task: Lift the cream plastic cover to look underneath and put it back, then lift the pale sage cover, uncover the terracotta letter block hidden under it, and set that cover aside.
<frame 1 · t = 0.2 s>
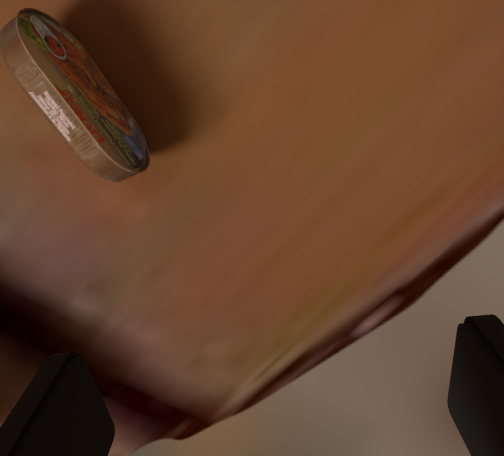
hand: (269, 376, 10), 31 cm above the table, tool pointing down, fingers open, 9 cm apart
tin: (101, 96, 37), on the table
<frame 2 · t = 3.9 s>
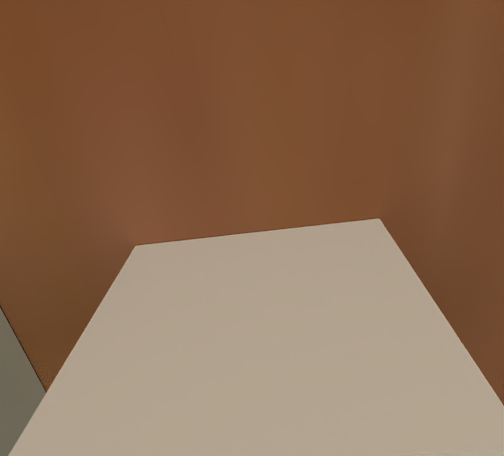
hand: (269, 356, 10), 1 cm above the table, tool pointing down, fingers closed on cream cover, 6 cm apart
cream cover: (268, 327, 11), on the table, touching gripper
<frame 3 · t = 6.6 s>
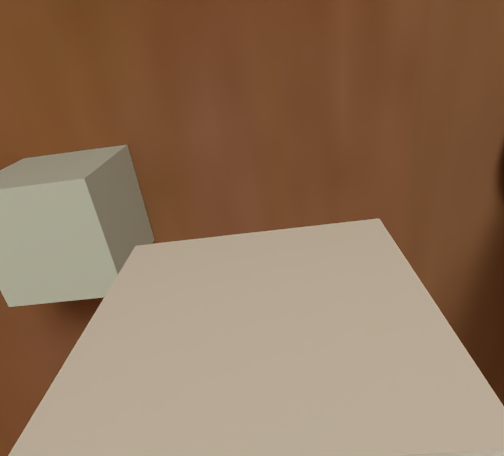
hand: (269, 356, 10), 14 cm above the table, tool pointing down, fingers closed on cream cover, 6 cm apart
cream cover: (268, 327, 11), point 13 cm above the table, touching gripper
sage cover: (92, 201, 24), on the table
when the fingers open (3 cm above the table, at t = 9.1 s): cream cover drops 1 cm, on the table.
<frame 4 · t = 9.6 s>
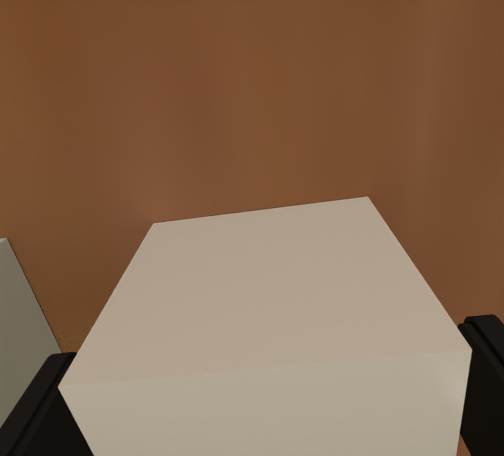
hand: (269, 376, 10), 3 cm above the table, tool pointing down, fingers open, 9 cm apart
cream cover: (271, 297, 13), on the table
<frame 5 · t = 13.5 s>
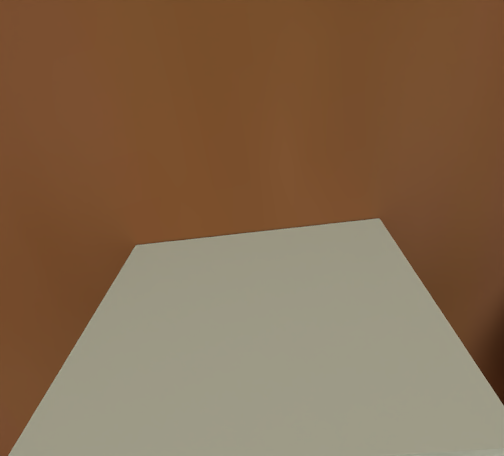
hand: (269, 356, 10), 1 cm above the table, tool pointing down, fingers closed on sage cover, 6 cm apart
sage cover: (268, 326, 11), on the table, touching gripper
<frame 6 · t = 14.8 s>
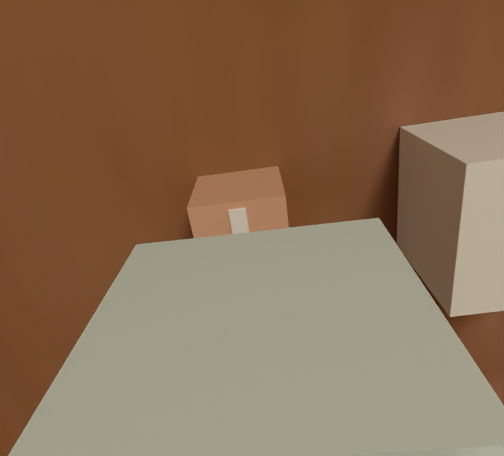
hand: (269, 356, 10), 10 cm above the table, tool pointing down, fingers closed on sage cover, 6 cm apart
cream cover: (462, 181, 19), on the table
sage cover: (268, 326, 11), point 9 cm above the table, touching gripper
letter block: (243, 225, 18), on the table
when the fingers open (3 cm above the table, at t = 19.7 s): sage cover drops 1 cm, on the table.
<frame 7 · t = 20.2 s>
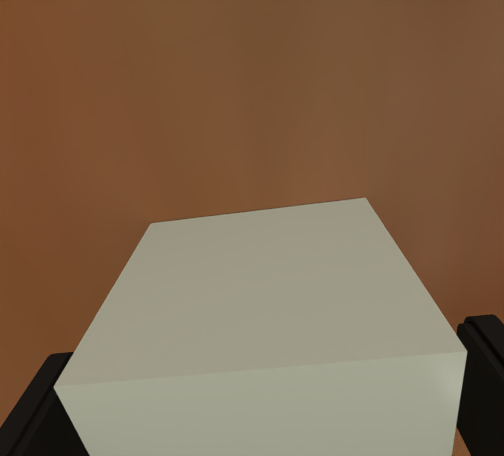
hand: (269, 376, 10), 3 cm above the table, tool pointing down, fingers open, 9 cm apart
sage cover: (268, 298, 13), on the table
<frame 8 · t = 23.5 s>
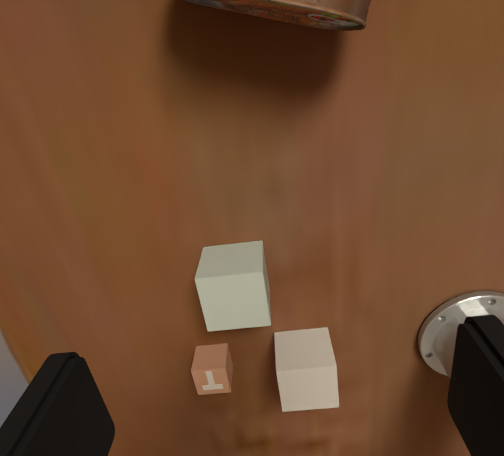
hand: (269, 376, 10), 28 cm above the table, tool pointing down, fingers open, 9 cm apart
cream cover: (302, 349, 47), on the table
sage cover: (237, 269, 42), on the table
letter block: (213, 368, 46), on the table
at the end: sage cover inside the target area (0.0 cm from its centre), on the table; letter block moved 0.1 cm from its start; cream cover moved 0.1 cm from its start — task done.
